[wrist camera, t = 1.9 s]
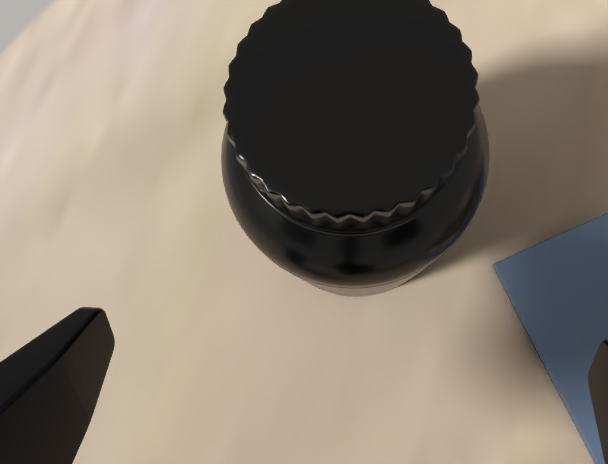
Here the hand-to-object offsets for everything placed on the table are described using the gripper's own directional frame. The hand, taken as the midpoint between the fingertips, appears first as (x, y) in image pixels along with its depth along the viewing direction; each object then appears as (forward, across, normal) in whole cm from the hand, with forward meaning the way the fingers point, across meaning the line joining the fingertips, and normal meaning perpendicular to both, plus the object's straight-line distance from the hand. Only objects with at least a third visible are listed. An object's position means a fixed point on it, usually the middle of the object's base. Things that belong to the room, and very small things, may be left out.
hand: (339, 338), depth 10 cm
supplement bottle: (+11, 0, +5) cm, 12 cm away
